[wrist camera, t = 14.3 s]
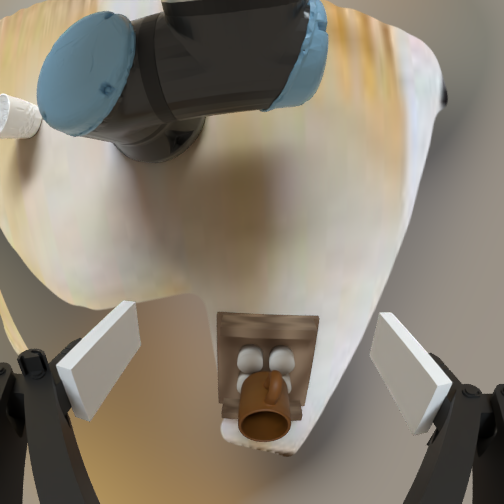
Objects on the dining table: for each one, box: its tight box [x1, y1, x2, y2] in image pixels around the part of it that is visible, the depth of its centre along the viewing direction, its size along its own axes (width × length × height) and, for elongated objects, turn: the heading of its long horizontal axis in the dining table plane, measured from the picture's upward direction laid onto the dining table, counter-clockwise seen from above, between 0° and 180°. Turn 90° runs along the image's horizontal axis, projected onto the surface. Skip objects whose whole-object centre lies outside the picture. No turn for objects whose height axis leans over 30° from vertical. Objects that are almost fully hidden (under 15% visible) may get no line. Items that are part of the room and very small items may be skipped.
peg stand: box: [217, 312, 319, 421], centre depth 45 cm, size 16×19×5 cm
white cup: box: [0, 94, 42, 139], centre depth 34 cm, size 8×8×10 cm
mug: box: [238, 370, 291, 442], centre depth 39 cm, size 12×8×9 cm, turn 169°
